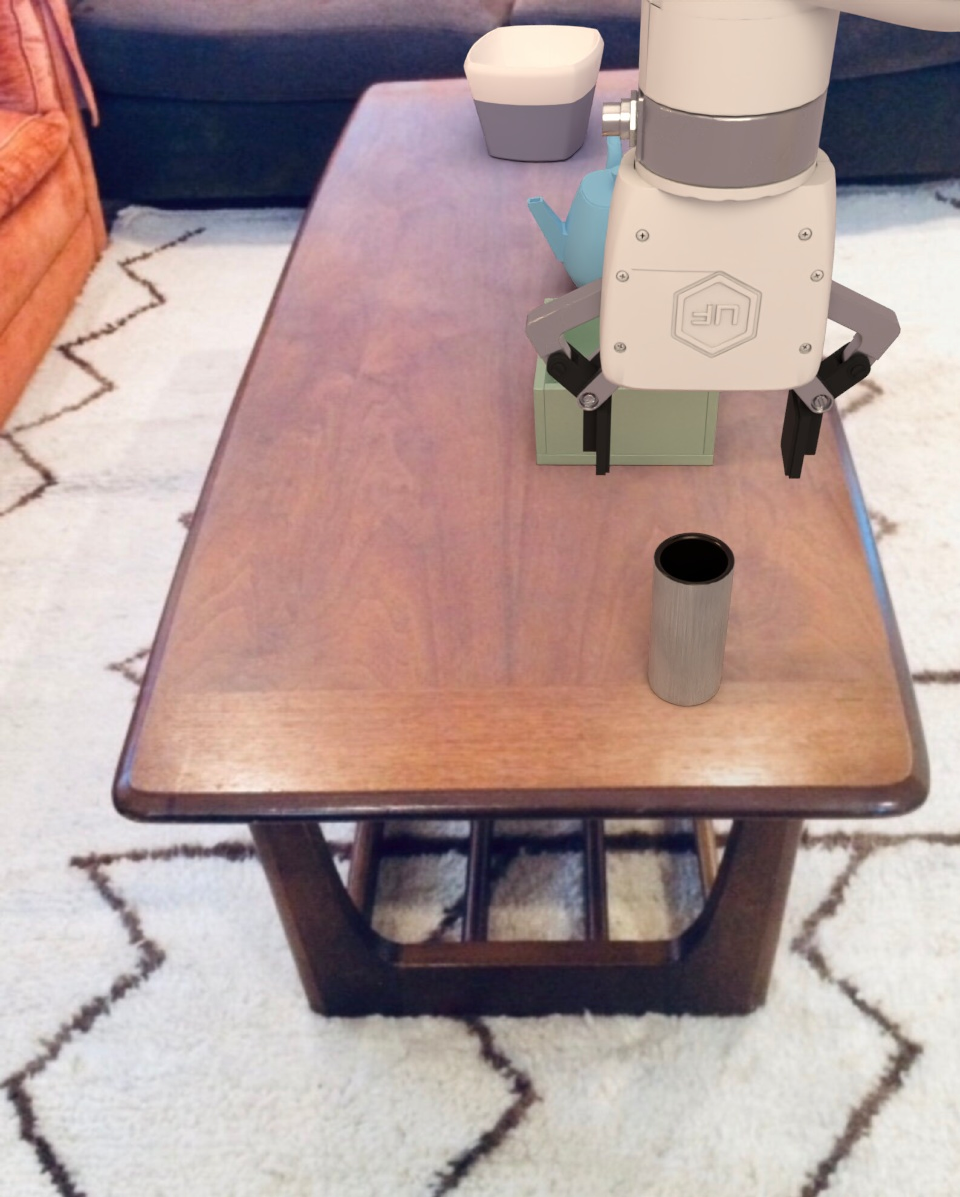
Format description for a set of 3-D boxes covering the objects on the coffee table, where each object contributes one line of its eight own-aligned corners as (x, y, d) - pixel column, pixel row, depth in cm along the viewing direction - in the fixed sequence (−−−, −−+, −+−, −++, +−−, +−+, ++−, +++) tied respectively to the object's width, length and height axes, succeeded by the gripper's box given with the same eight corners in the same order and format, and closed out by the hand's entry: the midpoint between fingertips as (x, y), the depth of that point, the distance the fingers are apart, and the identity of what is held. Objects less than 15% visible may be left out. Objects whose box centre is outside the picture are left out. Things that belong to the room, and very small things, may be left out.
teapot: (514, 286, 107) (509, 172, 99) (610, 236, 113) (612, 125, 105) (632, 340, 98) (636, 219, 91) (729, 283, 105) (740, 165, 97)
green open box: (705, 369, 94) (711, 295, 89) (712, 465, 84) (719, 388, 80) (547, 370, 96) (544, 297, 91) (536, 465, 86) (533, 389, 81)
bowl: (457, 166, 129) (449, 67, 121) (494, 117, 139) (488, 22, 132) (585, 173, 125) (585, 70, 117) (613, 122, 135) (614, 24, 128)
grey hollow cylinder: (718, 654, 70) (732, 531, 63) (723, 708, 67) (737, 585, 60) (647, 652, 71) (652, 530, 64) (648, 706, 68) (654, 584, 60)
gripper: (512, 170, 44) (525, 503, 56) (964, 163, 42) (877, 510, 54) (526, 100, 49) (535, 417, 61) (927, 91, 47) (856, 421, 59)
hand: (695, 460), depth 57 cm, fingers open, 9 cm apart
